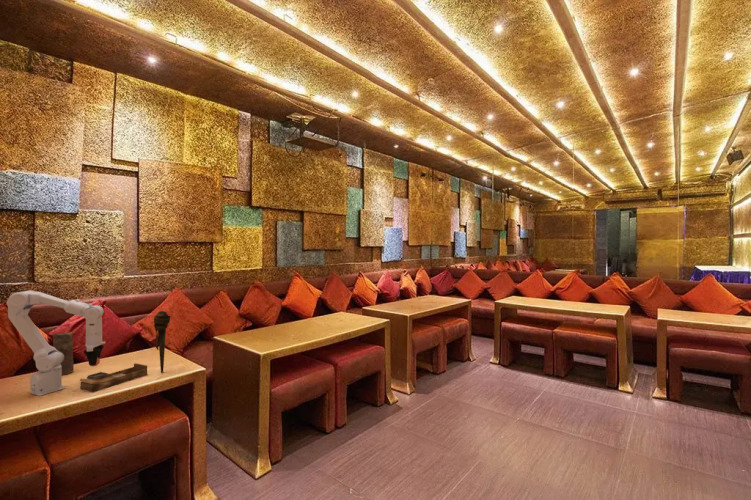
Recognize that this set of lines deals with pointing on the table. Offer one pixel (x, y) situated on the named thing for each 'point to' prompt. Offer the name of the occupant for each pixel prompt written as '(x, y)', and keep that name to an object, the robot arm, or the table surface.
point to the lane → (114, 378)
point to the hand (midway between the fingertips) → (94, 363)
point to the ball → (97, 362)
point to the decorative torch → (161, 334)
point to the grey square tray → (96, 375)
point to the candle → (65, 350)
